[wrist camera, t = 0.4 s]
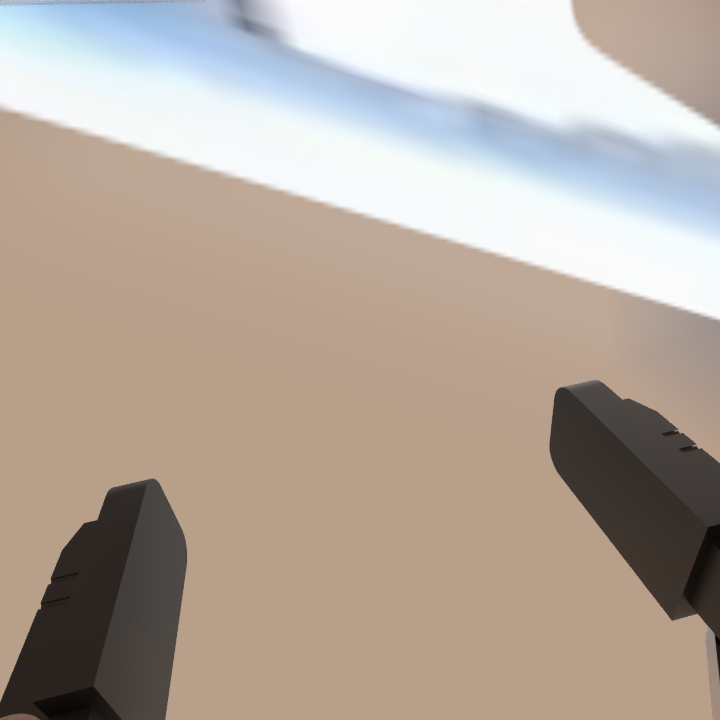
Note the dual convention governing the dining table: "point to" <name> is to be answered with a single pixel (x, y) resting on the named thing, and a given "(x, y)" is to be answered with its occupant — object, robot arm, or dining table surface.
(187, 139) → the dining table surface
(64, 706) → the robot arm
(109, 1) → the grey open box
